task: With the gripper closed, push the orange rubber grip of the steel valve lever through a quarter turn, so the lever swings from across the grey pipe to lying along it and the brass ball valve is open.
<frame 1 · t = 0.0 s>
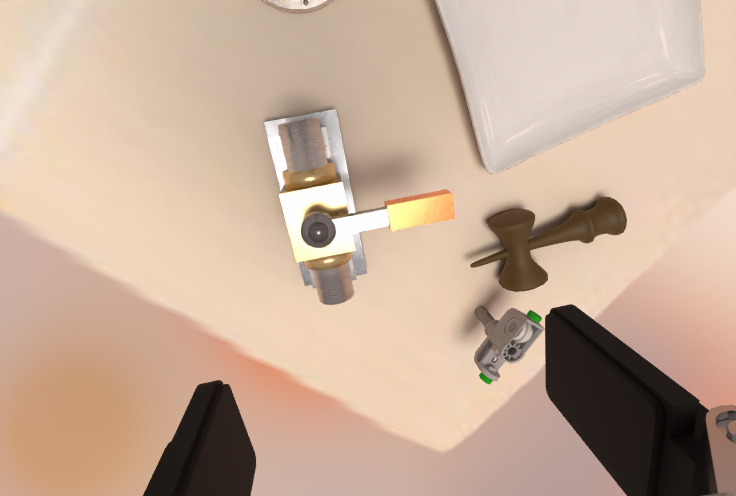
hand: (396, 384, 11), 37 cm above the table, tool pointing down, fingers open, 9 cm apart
kendama: (531, 233, 51), on the table
valve lever: (376, 218, 35), point 12 cm above the table, hinge at 90.0°
mechanical component: (479, 310, 54), on the table
square plate: (552, 11, 42), on the table
ball valve: (319, 201, 46), on the table
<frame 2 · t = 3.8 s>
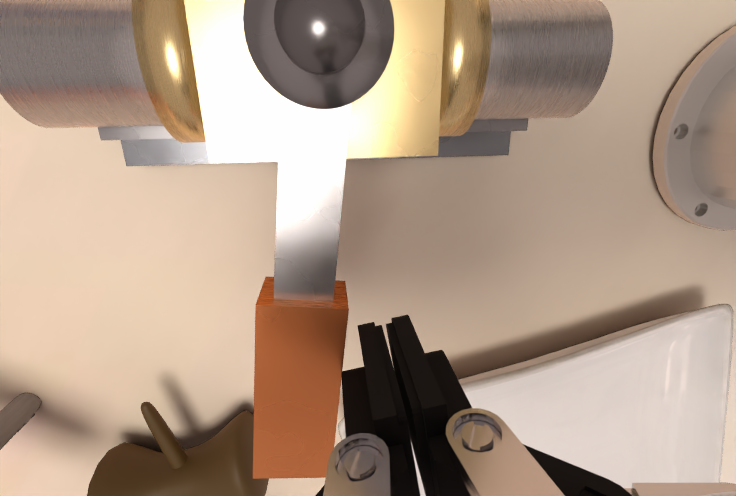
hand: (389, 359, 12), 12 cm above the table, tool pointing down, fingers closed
kendama: (220, 472, 29), on the table
valve lever: (306, 259, 10), point 12 cm above the table, hinge at 82.6°, touching gripper
mechanical component: (30, 400, 25), on the table
square plate: (530, 462, 32), on the table
ball valve: (322, 79, 20), on the table
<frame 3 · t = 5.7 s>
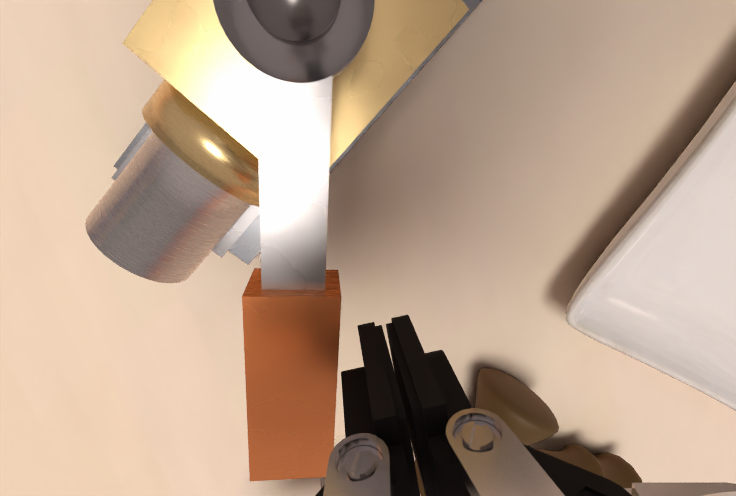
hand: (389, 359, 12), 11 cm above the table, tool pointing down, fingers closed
kendama: (503, 427, 30), on the table
valve lever: (294, 246, 10), point 12 cm above the table, hinge at 39.1°, touching gripper
ball valve: (311, 69, 19), on the table
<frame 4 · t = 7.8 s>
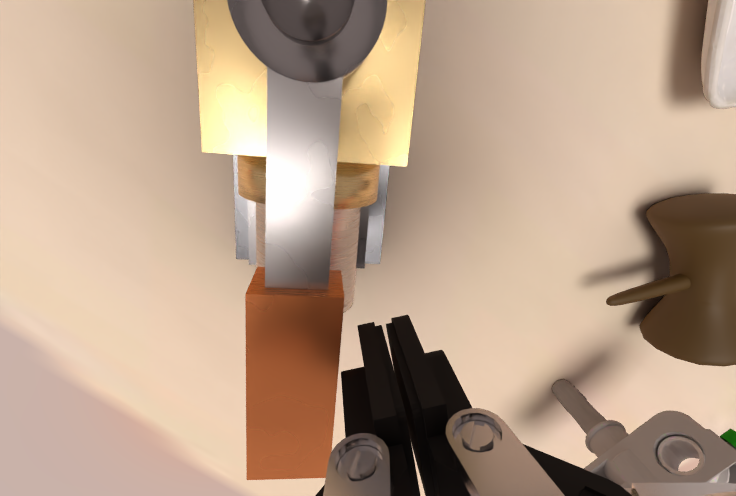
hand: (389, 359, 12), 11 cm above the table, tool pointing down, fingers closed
kendama: (709, 246, 26), on the table
valve lever: (299, 245, 10), point 12 cm above the table, hinge at -0.9°, touching gripper
mechanical component: (560, 385, 29), on the table
ball valve: (317, 70, 19), on the table
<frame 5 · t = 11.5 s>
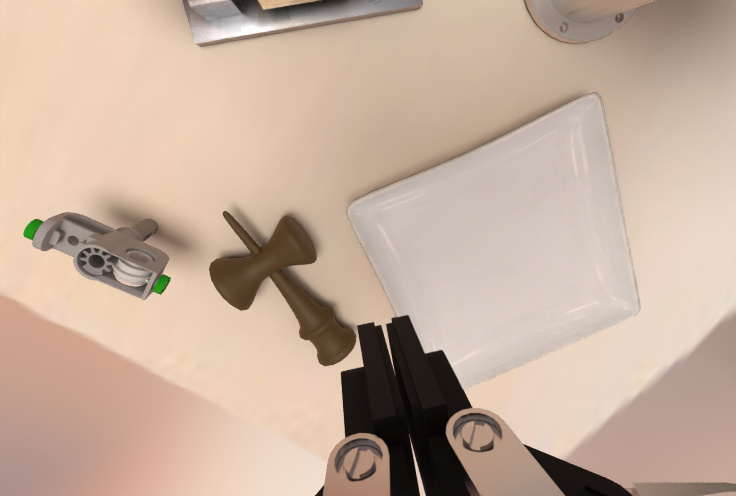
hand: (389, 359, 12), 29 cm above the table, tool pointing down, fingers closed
kendama: (289, 276, 42), on the table
mechanical component: (151, 226, 39), on the table
square plate: (493, 253, 44), on the table
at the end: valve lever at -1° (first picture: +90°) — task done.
